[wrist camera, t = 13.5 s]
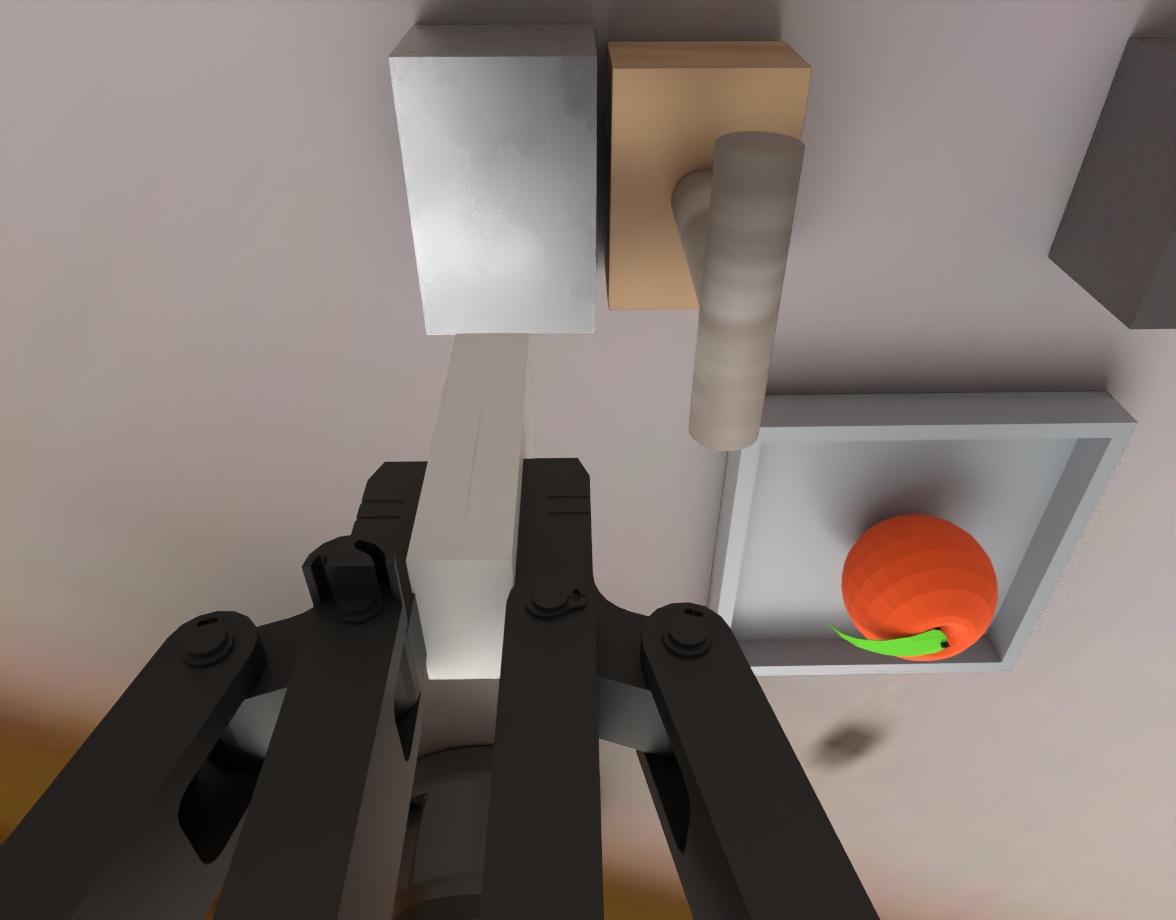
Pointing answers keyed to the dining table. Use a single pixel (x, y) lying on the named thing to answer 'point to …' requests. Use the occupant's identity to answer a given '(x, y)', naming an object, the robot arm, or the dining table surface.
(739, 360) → the slider
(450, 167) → the frame
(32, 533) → the dining table surface
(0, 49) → the dining table surface
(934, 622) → the clementine
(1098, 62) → the dining table surface
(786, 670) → the tray
